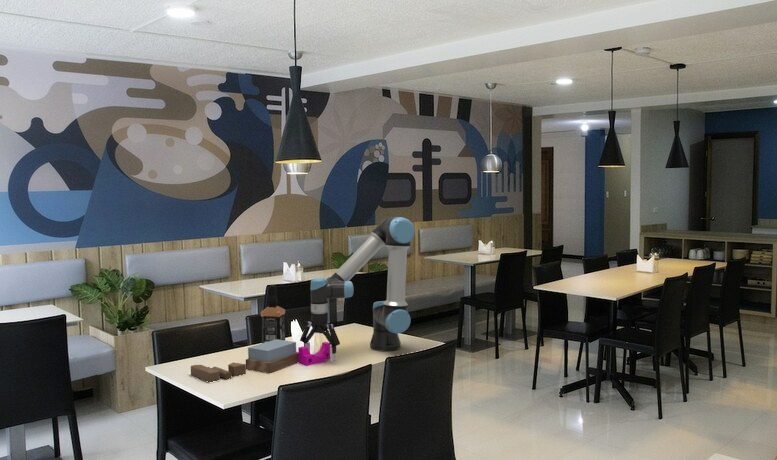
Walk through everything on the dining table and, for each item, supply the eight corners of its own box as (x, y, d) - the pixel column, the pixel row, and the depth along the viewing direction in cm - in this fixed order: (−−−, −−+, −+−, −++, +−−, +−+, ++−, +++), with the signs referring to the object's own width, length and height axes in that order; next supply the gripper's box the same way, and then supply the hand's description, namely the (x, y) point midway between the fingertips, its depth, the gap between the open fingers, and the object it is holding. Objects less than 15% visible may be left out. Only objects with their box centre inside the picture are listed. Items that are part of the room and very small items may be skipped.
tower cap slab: (296, 353, 292) (296, 342, 292) (268, 362, 277) (267, 350, 277) (276, 349, 299) (276, 339, 298) (248, 358, 284) (248, 347, 283)
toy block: (306, 366, 287) (305, 349, 286) (298, 363, 291) (298, 347, 291) (333, 360, 296) (333, 344, 296) (326, 357, 301) (325, 341, 301)
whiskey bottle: (287, 348, 319) (285, 284, 317) (280, 353, 310) (278, 287, 308) (267, 347, 321) (265, 283, 319) (260, 352, 311) (258, 287, 309)
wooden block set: (210, 371, 262) (189, 363, 275) (211, 384, 263) (190, 376, 276) (246, 362, 274) (224, 355, 287) (247, 375, 275) (225, 367, 287)
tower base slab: (299, 363, 293) (299, 352, 293) (270, 374, 276) (270, 363, 276) (275, 359, 300) (275, 349, 300) (245, 370, 283) (245, 359, 282)
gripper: (291, 311, 294) (292, 357, 295) (338, 316, 282) (338, 364, 283) (301, 308, 300) (302, 353, 302) (347, 313, 289) (347, 359, 290)
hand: (320, 358), depth 292 cm, fingers open, 13 cm apart
